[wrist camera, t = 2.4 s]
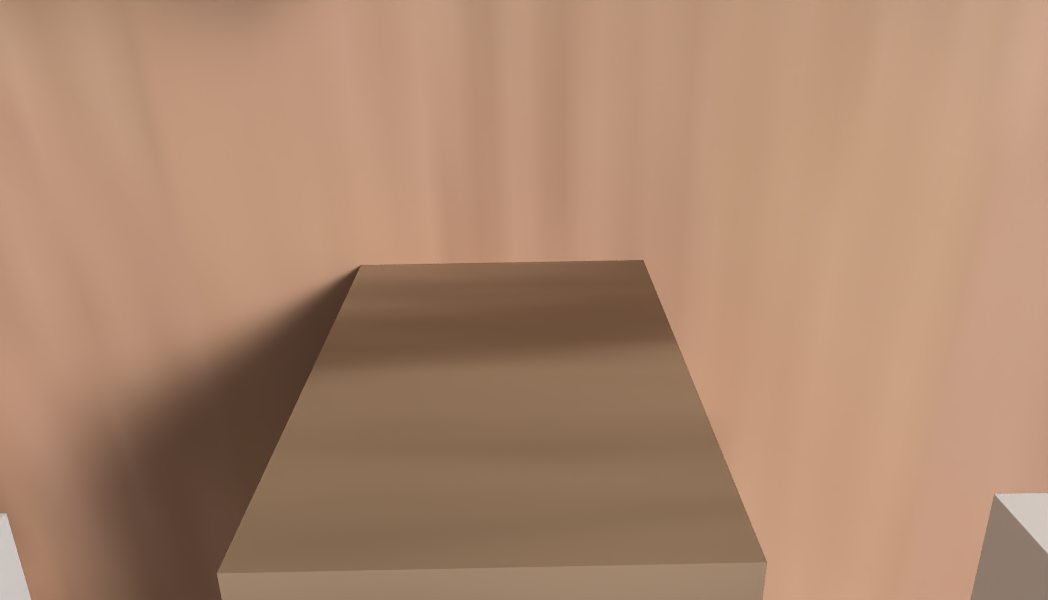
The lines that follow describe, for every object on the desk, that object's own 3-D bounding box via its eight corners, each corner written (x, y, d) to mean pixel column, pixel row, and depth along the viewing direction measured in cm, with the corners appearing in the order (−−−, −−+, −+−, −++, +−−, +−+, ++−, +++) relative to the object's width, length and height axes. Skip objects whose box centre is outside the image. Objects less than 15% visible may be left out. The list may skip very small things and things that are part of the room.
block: (361, 265, 15) (217, 573, 8) (643, 259, 15) (767, 562, 8) (383, 499, 17) (284, 925, 10) (633, 494, 17) (725, 915, 10)
